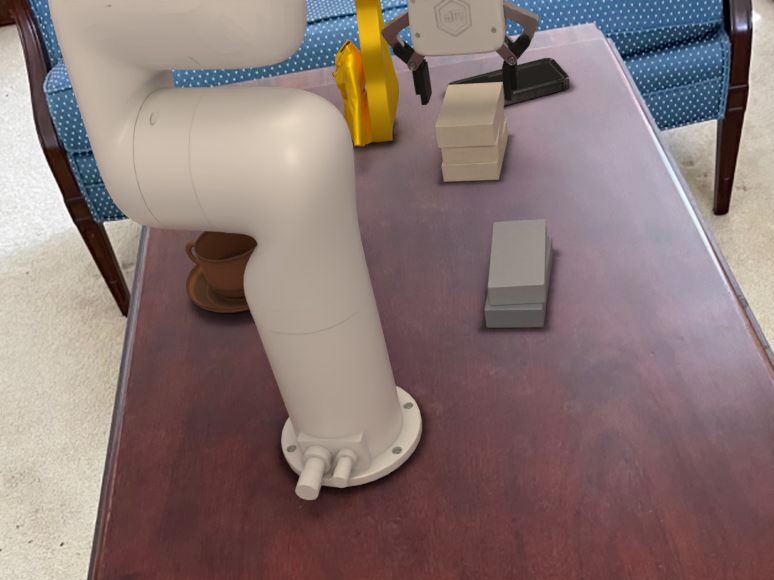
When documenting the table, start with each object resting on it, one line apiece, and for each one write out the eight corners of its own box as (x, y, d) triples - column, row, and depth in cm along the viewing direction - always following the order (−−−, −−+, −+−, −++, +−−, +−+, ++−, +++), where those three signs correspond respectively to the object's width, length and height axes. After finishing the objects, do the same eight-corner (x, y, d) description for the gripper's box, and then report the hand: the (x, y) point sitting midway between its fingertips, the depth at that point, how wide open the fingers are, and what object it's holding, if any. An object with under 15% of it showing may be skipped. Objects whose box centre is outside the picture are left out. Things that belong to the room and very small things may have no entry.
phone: (571, 79, 122) (461, 107, 120) (572, 88, 122) (462, 116, 121) (551, 55, 127) (445, 82, 125) (551, 64, 128) (446, 90, 126)
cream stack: (501, 179, 110) (497, 144, 107) (441, 182, 111) (436, 147, 108) (510, 134, 117) (507, 100, 113) (454, 137, 118) (449, 103, 115)
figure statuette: (346, 107, 127) (306, -72, 111) (403, 98, 127) (371, -83, 111) (346, 174, 115) (301, -15, 99) (410, 164, 115) (375, -27, 99)
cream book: (494, 145, 107) (492, 124, 105) (437, 148, 108) (434, 126, 106) (504, 102, 113) (502, 81, 111) (450, 105, 114) (448, 84, 112)
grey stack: (546, 327, 91) (543, 290, 88) (483, 328, 92) (478, 291, 89) (555, 254, 99) (553, 217, 95) (497, 255, 100) (493, 219, 97)
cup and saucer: (180, 327, 98) (158, 279, 94) (204, 260, 106) (186, 212, 102) (291, 318, 97) (275, 269, 92) (307, 250, 105) (293, 202, 100)
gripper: (358, -47, 94) (388, 117, 107) (529, -61, 91) (540, 109, 104) (373, -73, 99) (400, 86, 112) (536, -87, 96) (546, 78, 109)
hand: (468, 97), depth 108 cm, fingers open, 9 cm apart
